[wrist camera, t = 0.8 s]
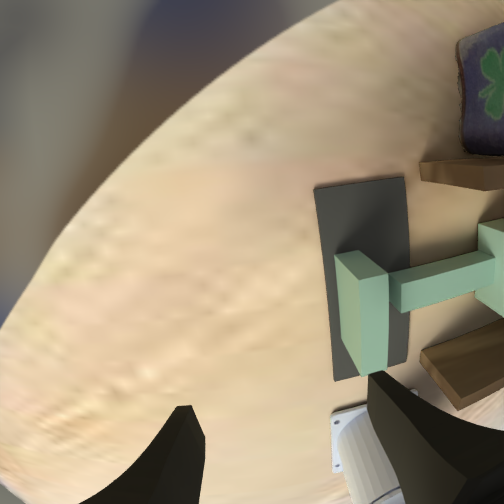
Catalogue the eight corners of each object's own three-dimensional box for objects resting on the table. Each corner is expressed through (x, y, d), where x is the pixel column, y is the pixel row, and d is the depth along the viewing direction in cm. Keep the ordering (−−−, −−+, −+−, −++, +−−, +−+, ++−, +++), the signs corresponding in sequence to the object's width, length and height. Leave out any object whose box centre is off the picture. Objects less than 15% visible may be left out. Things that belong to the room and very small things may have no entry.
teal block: (530, 275, 20) (563, 293, 16) (340, 336, 21) (361, 377, 16) (534, 211, 19) (572, 222, 14) (332, 253, 19) (358, 280, 14)
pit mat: (404, 359, 22) (406, 361, 22) (333, 379, 22) (334, 381, 22) (401, 176, 18) (403, 177, 18) (313, 189, 18) (314, 190, 18)
